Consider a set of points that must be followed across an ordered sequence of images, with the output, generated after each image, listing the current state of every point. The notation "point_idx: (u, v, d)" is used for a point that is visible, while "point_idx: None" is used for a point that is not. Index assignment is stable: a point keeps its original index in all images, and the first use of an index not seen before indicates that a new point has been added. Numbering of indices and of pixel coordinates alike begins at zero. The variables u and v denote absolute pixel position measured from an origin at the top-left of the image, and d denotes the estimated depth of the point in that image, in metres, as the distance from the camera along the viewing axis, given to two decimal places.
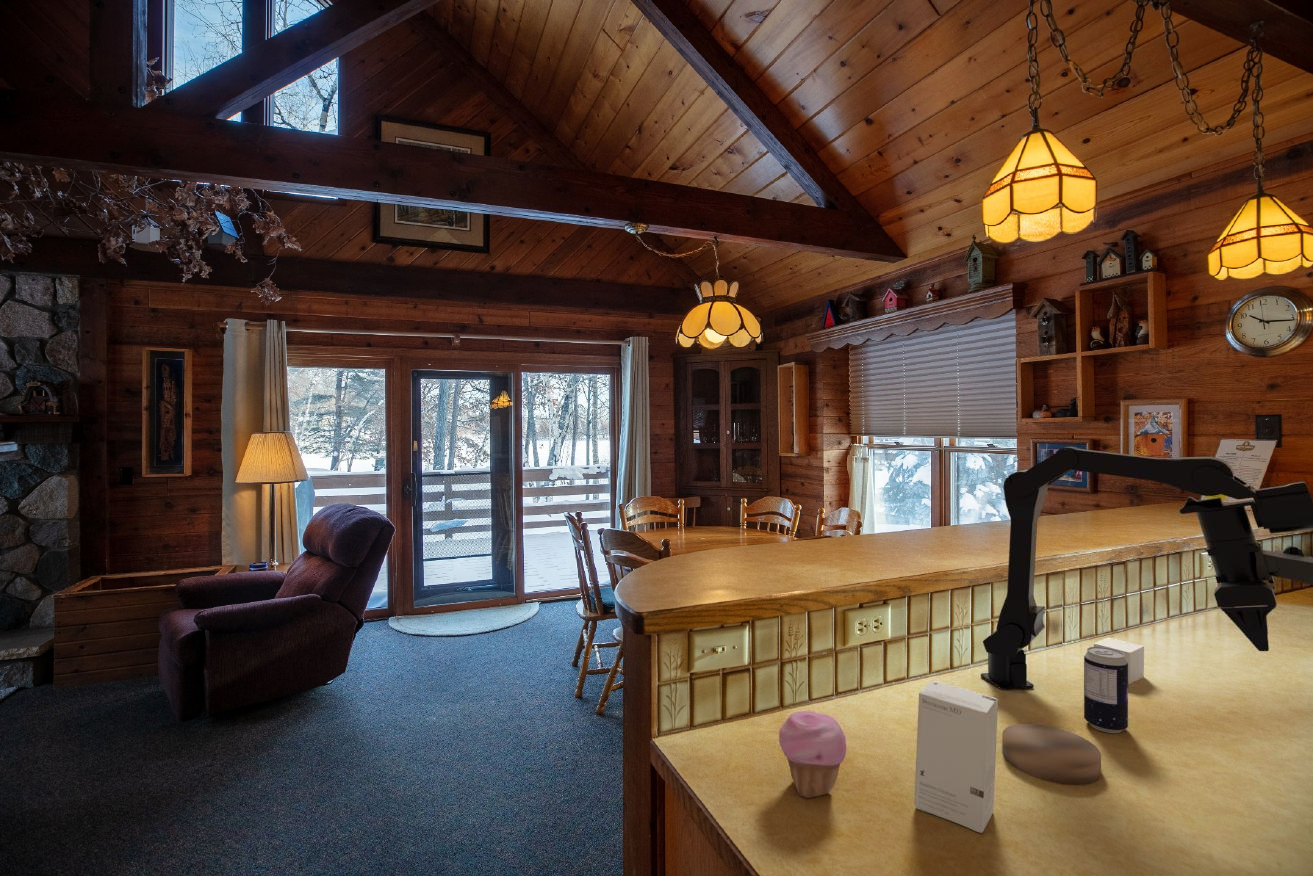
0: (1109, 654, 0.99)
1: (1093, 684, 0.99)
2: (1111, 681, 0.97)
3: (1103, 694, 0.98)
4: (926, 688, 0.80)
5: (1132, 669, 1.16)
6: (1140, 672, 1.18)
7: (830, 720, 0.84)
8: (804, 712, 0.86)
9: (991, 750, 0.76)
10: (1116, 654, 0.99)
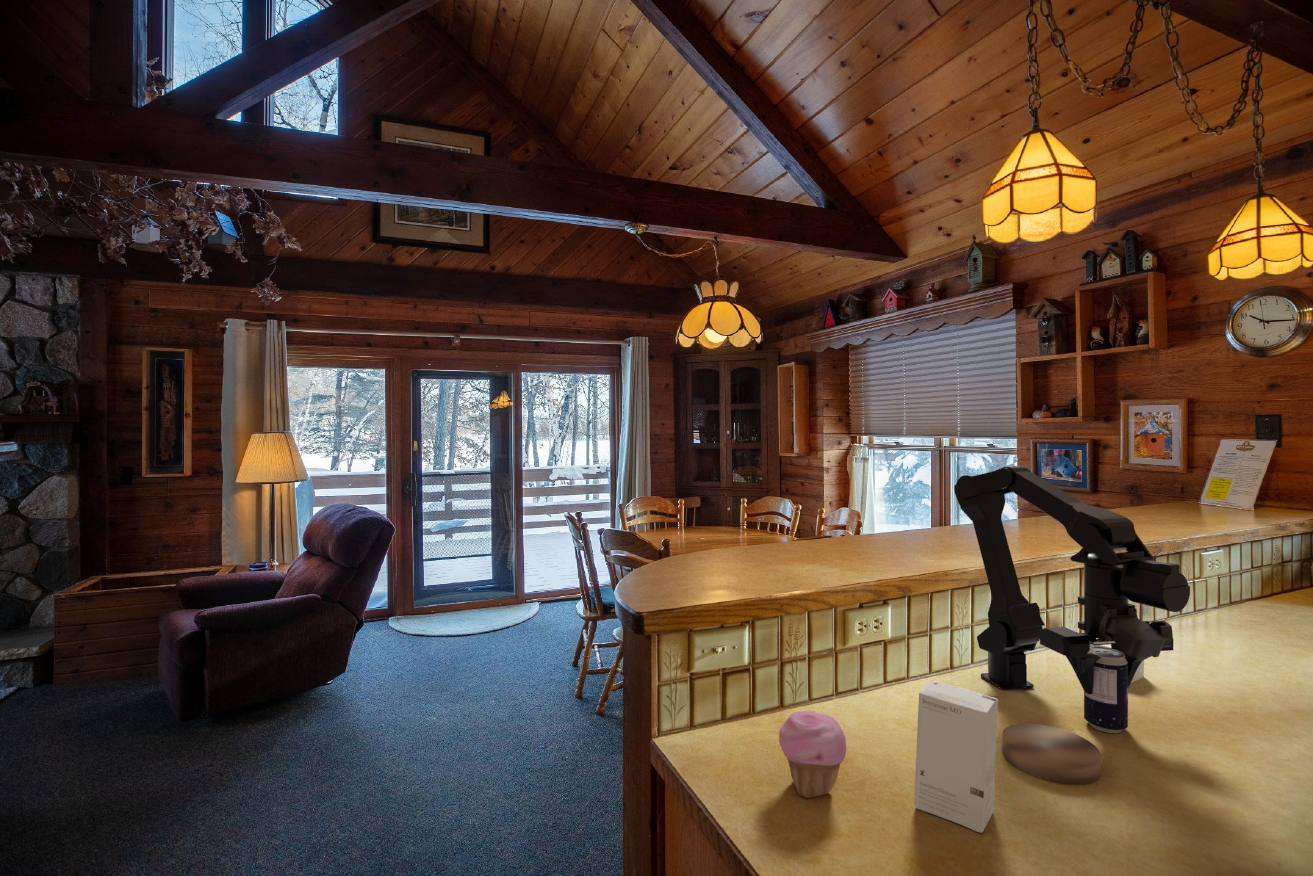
0: (1109, 654, 0.99)
1: (1093, 684, 0.99)
2: (1111, 681, 0.97)
3: (1103, 694, 0.98)
4: (926, 688, 0.80)
5: None
6: (1140, 672, 1.18)
7: (830, 720, 0.84)
8: (804, 712, 0.86)
9: (991, 750, 0.76)
10: (1116, 654, 0.99)
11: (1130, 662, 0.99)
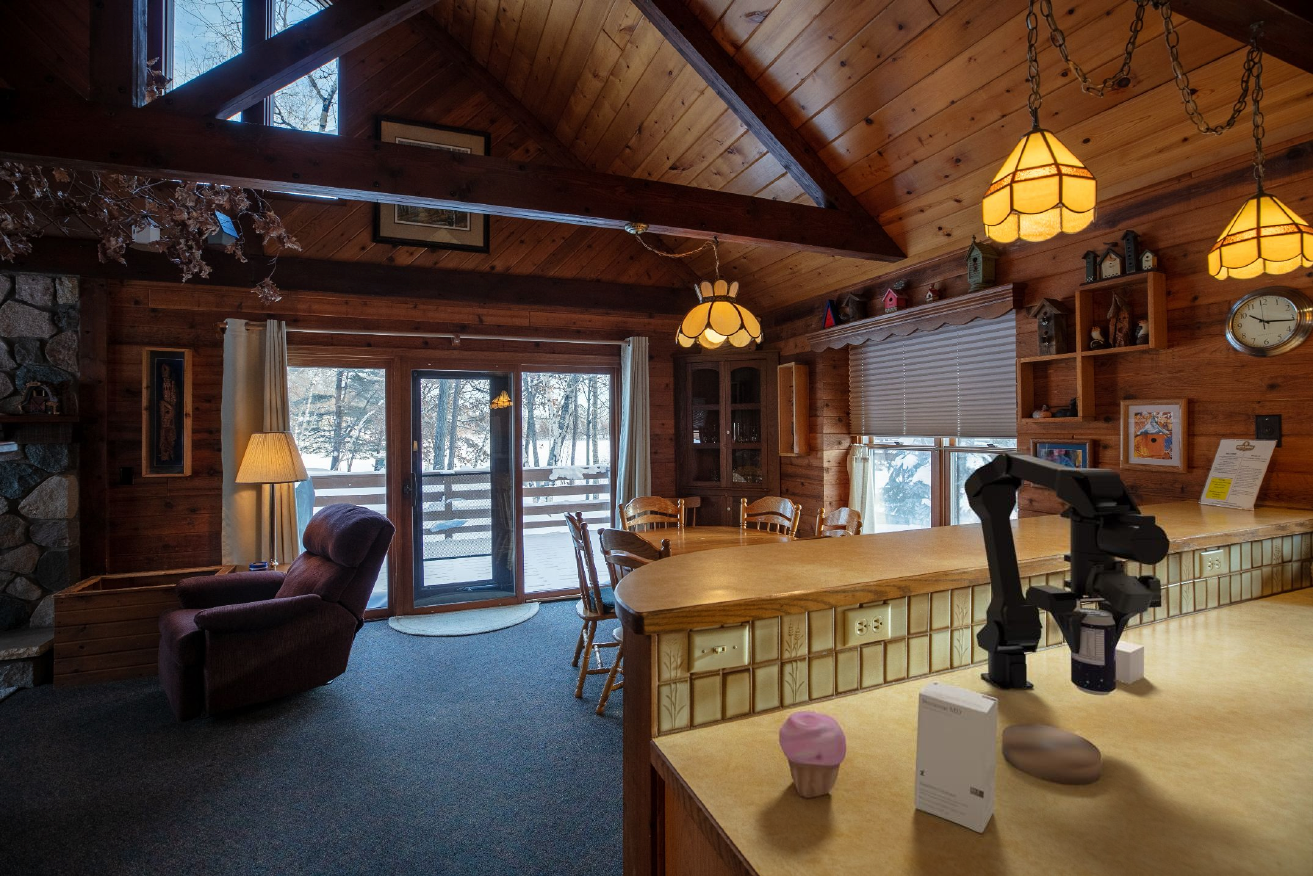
0: (1096, 614, 0.96)
1: (1080, 645, 0.96)
2: (1099, 641, 0.94)
3: (1090, 655, 0.95)
4: (926, 688, 0.80)
5: (1132, 669, 1.16)
6: (1140, 672, 1.18)
7: (830, 720, 0.84)
8: (804, 712, 0.86)
9: (991, 750, 0.76)
10: (1103, 614, 0.96)
11: (1117, 620, 0.96)
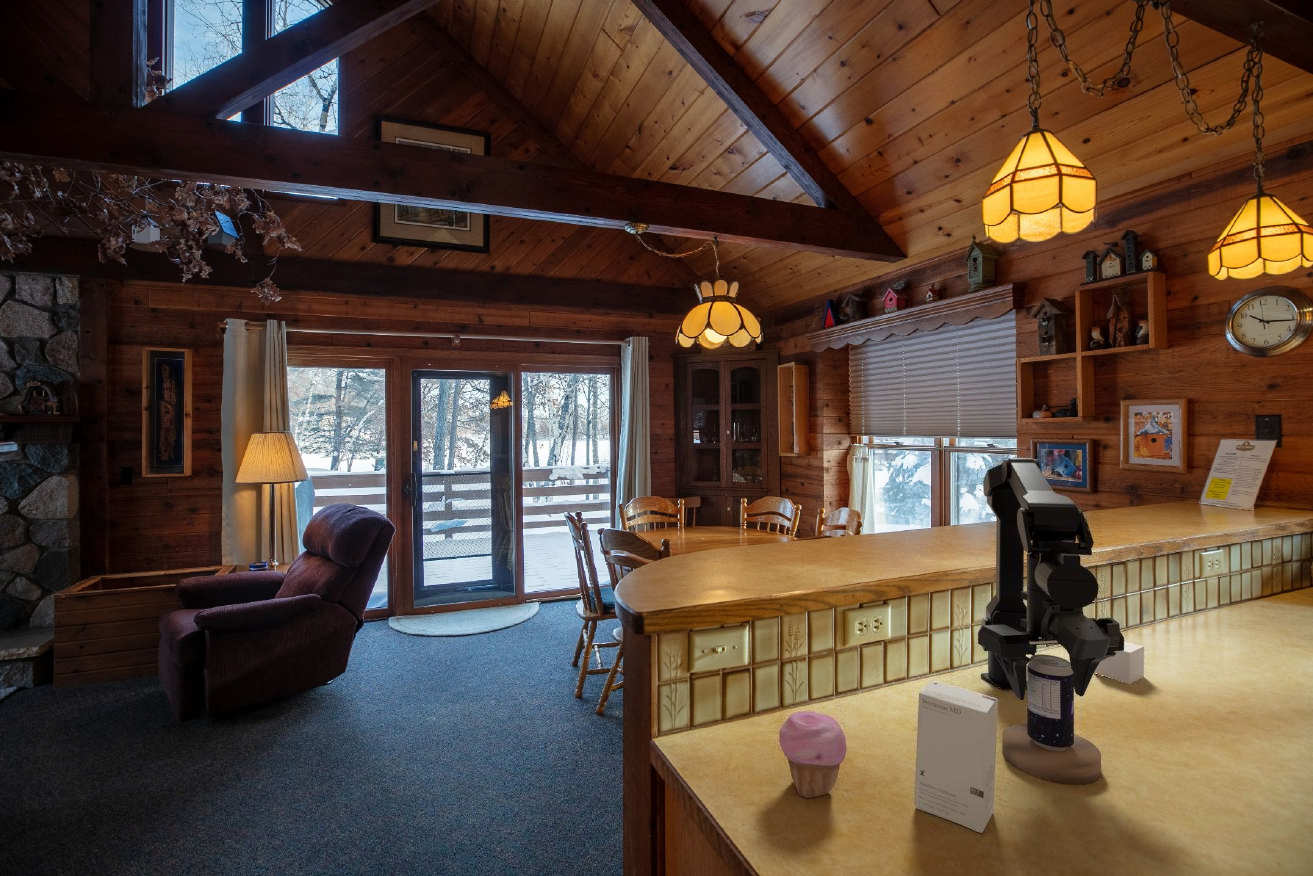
0: (1053, 663, 0.89)
1: (1036, 696, 0.89)
2: (1054, 693, 0.87)
3: (1046, 707, 0.88)
4: (926, 688, 0.80)
5: (1132, 669, 1.16)
6: (1140, 672, 1.18)
7: (831, 720, 0.84)
8: (804, 712, 0.86)
9: (991, 750, 0.76)
10: (1061, 663, 0.89)
11: (1087, 663, 0.90)
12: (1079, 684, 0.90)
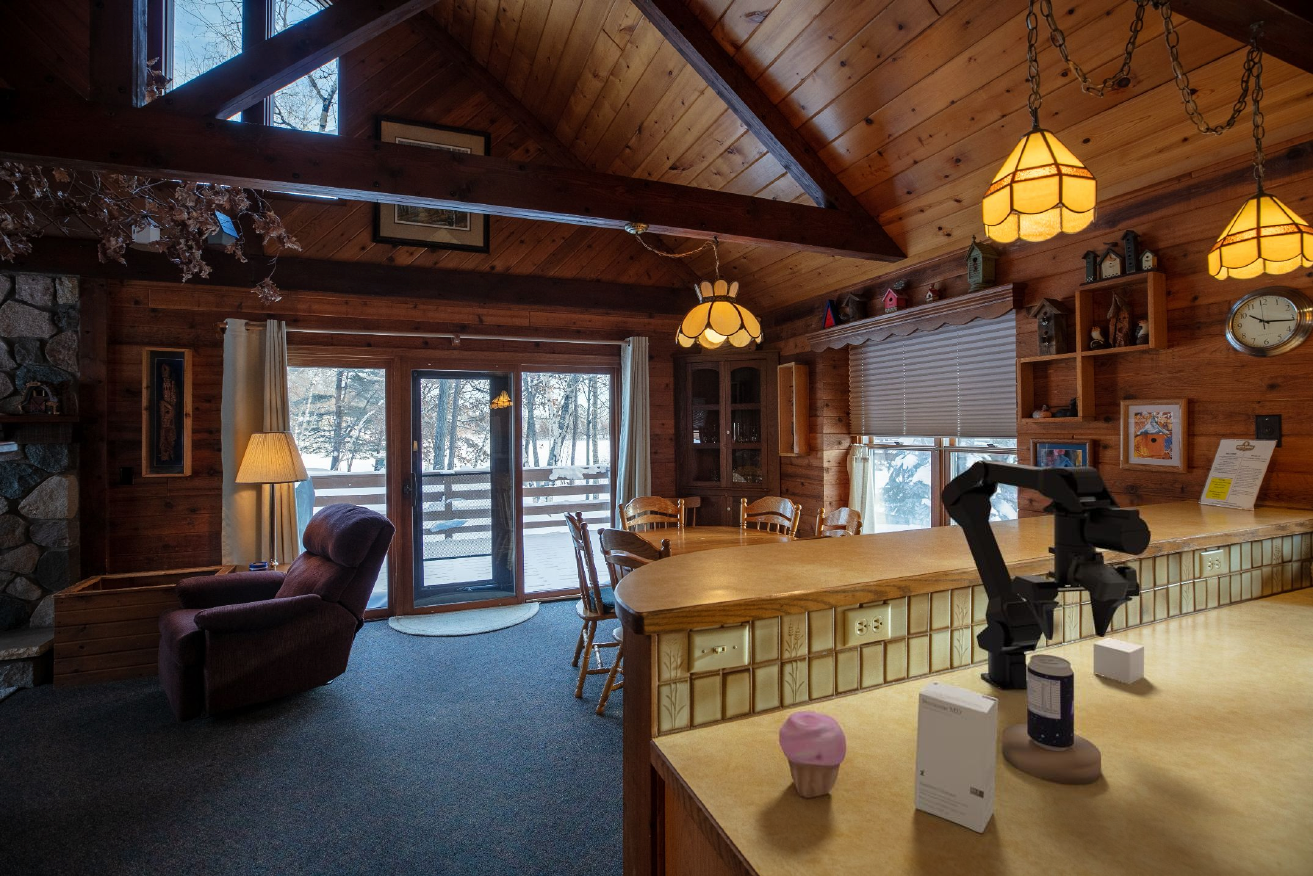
0: (1053, 663, 0.89)
1: (1036, 696, 0.89)
2: (1054, 693, 0.87)
3: (1045, 707, 0.88)
4: (926, 688, 0.80)
5: (1132, 669, 1.16)
6: (1140, 672, 1.18)
7: (830, 720, 0.84)
8: (804, 712, 0.86)
9: (991, 750, 0.76)
10: (1061, 663, 0.89)
11: (1107, 608, 1.03)
12: (1100, 626, 1.04)
